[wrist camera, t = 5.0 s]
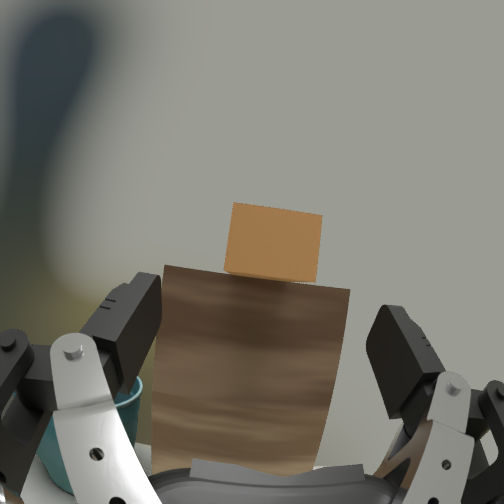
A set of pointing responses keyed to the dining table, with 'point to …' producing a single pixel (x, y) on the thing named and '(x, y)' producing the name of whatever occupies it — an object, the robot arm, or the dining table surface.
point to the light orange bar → (273, 243)
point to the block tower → (244, 370)
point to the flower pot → (50, 446)
